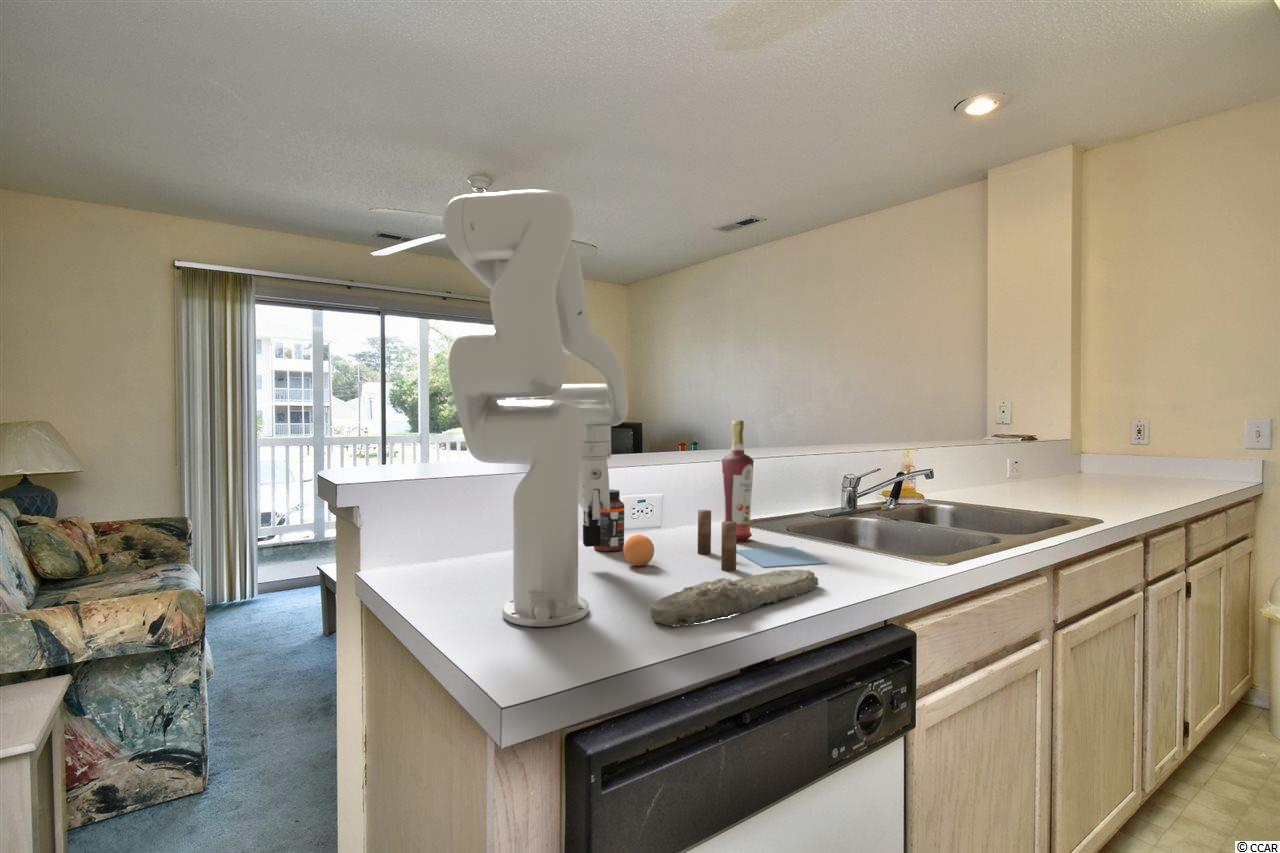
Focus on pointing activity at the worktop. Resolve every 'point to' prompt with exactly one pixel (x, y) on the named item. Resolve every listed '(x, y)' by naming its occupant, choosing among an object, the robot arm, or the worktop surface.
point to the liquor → (738, 484)
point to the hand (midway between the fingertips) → (591, 545)
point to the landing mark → (780, 557)
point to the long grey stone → (730, 596)
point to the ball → (638, 550)
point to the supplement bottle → (612, 525)
